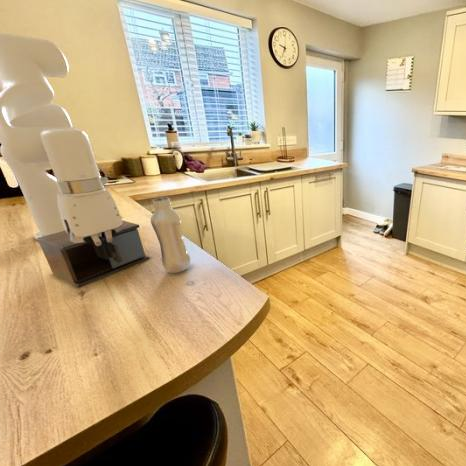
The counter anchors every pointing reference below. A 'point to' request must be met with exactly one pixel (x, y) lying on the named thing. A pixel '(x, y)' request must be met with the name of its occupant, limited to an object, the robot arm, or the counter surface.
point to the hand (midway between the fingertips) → (106, 257)
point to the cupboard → (79, 257)
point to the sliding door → (126, 248)
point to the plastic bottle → (169, 236)
